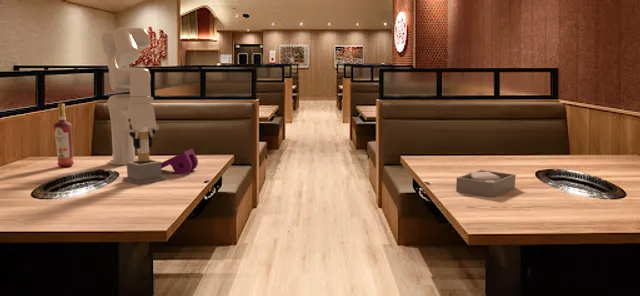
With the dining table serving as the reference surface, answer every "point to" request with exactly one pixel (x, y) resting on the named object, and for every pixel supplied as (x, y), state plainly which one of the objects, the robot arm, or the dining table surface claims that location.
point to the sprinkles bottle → (143, 145)
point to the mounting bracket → (182, 162)
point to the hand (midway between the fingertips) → (143, 147)
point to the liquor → (63, 139)
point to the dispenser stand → (486, 184)
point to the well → (144, 172)
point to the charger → (484, 176)
